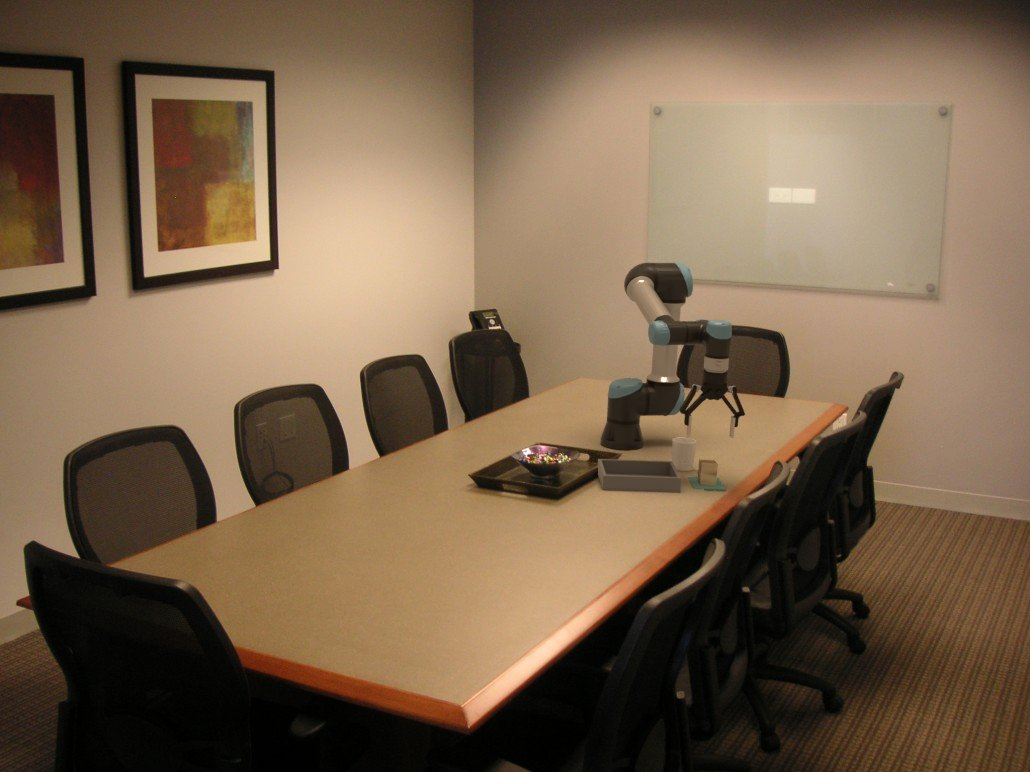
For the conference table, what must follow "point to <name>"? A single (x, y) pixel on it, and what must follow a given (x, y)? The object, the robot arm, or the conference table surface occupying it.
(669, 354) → the robot arm
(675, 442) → the white cup
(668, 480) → the crate
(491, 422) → the conference table surface
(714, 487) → the teal mat
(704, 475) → the maple block
